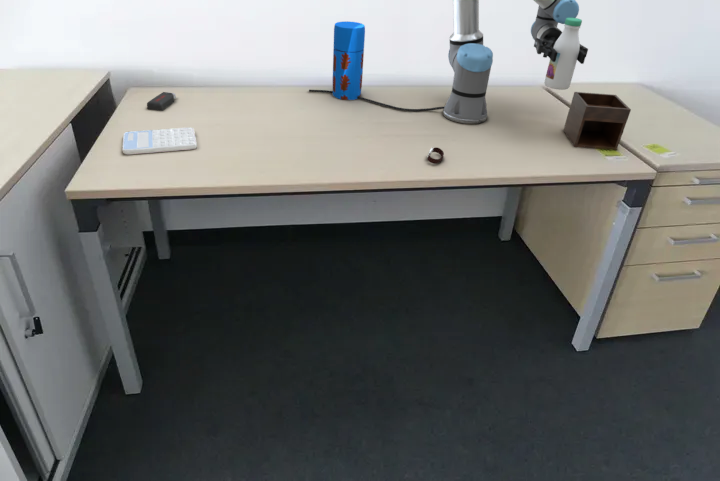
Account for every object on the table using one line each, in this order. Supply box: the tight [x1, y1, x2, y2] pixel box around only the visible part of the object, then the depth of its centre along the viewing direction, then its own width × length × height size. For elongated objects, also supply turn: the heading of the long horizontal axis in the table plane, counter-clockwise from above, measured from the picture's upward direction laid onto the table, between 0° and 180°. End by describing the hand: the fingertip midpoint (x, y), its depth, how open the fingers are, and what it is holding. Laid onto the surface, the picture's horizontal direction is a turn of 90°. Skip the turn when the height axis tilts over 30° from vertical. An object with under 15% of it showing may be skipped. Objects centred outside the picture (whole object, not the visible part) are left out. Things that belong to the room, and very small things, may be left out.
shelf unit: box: [562, 91, 632, 151], centre depth 172 cm, size 14×14×14 cm
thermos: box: [332, 21, 366, 101], centre depth 192 cm, size 11×11×25 cm
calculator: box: [121, 126, 198, 155], centre depth 155 cm, size 13×20×2 cm, turn 108°
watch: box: [426, 146, 445, 165], centre depth 155 cm, size 8×5×4 cm, turn 157°
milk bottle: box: [543, 17, 583, 91], centre depth 161 cm, size 8×8×20 cm
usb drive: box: [146, 91, 177, 112], centre depth 180 cm, size 5×12×3 cm, turn 170°
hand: (569, 58), depth 157 cm, fingers closed on milk bottle, 8 cm apart
